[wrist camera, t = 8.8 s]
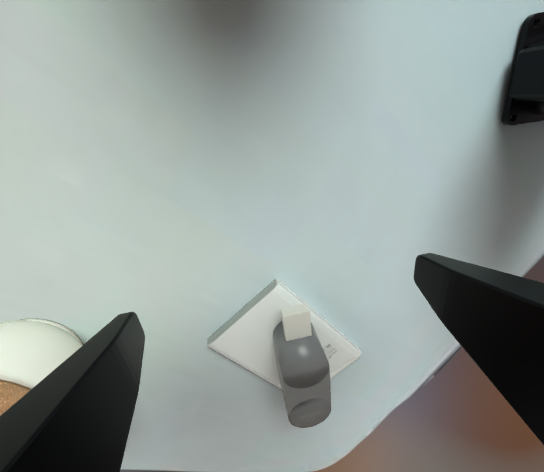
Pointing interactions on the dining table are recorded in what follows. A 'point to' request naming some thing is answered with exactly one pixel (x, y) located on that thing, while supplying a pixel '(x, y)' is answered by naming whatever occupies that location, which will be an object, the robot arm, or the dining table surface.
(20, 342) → the lidded jar
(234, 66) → the dining table surface
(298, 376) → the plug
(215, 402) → the dining table surface
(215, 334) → the external hard drive
